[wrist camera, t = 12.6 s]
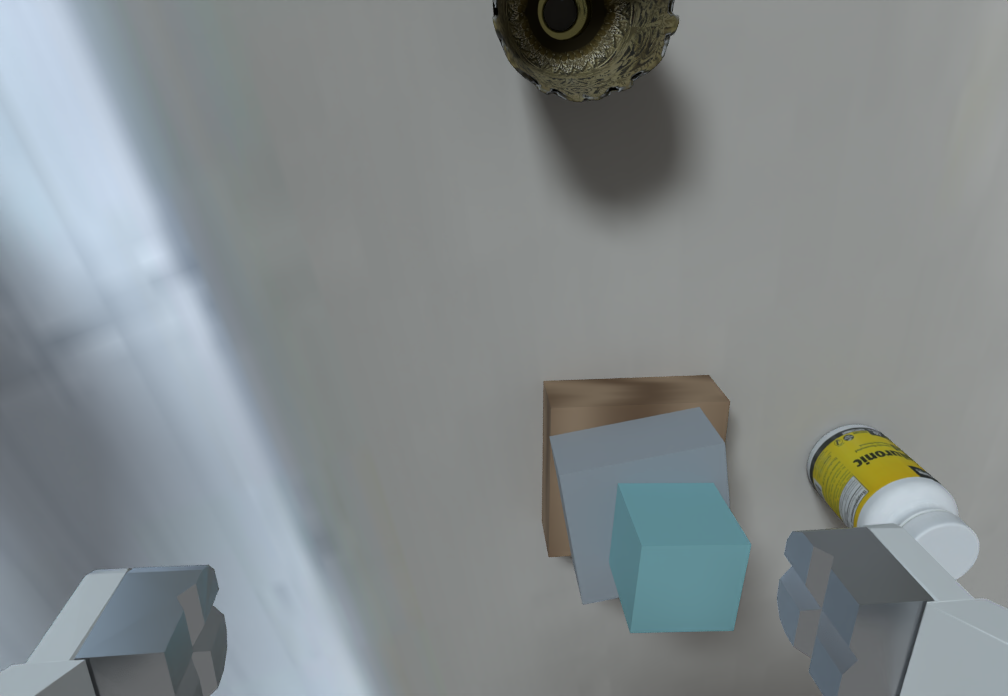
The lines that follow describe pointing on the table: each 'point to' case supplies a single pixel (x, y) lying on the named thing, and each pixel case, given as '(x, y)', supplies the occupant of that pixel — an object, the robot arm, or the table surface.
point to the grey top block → (627, 480)
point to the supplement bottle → (890, 493)
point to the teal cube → (677, 557)
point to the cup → (585, 44)
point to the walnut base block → (610, 404)
